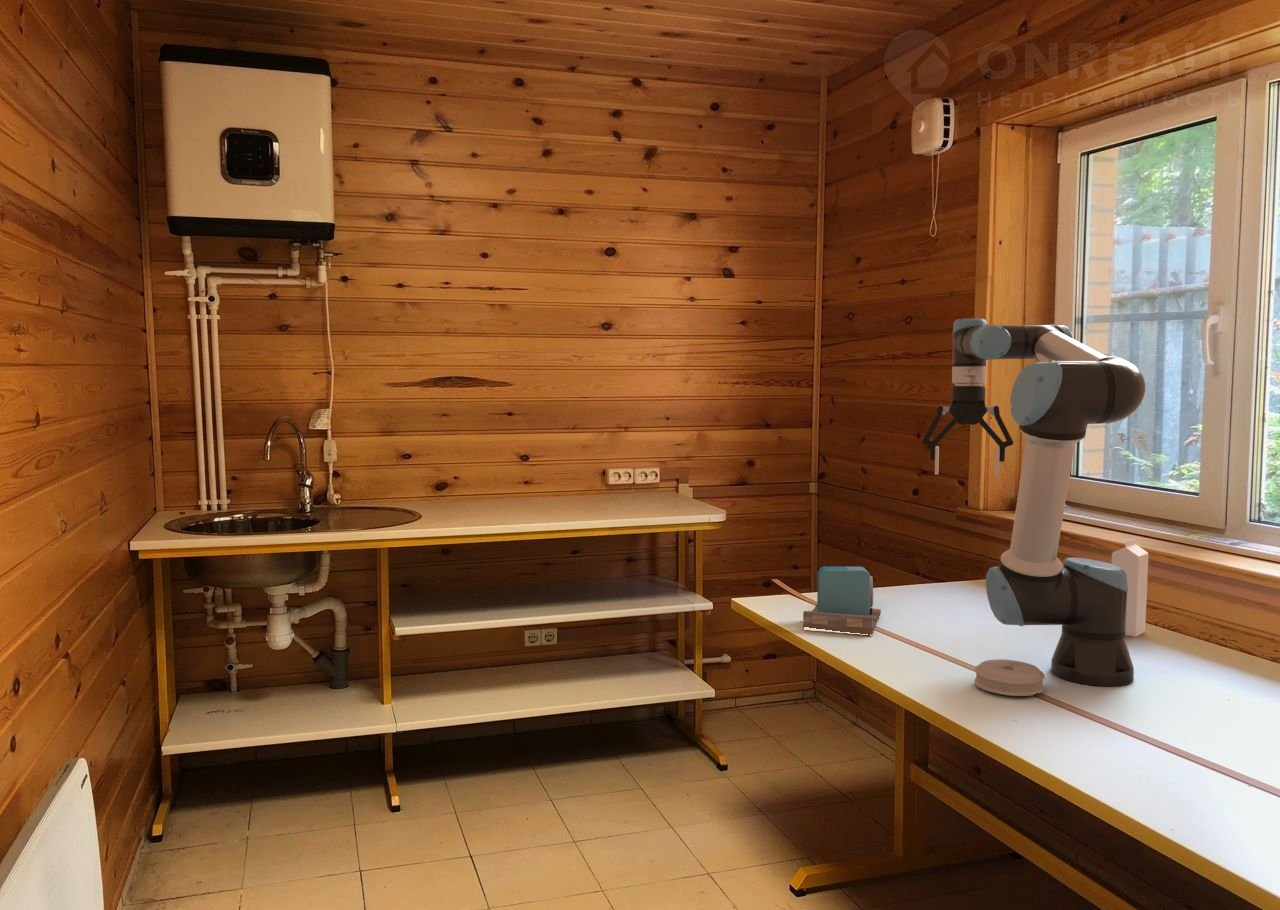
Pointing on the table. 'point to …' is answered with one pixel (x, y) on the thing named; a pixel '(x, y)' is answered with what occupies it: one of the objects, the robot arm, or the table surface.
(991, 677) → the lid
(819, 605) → the teal rounded flat block
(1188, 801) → the table surface
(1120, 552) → the milk
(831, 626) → the brown tray
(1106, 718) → the table surface
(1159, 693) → the table surface
